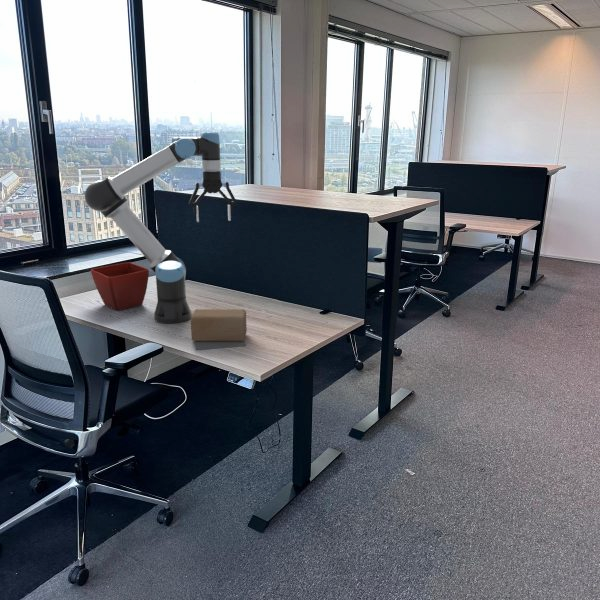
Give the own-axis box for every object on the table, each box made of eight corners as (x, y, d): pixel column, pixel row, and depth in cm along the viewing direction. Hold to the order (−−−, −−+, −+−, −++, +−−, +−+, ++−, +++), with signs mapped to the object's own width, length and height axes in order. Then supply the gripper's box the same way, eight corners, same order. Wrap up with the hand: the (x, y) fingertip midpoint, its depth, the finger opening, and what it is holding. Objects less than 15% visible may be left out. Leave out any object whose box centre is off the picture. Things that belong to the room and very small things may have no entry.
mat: (196, 350, 193) (196, 349, 193) (193, 338, 204) (193, 337, 204) (245, 345, 197) (245, 344, 197) (240, 334, 208) (240, 333, 208)
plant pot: (113, 314, 229) (109, 277, 224) (93, 304, 242) (89, 268, 237) (152, 305, 242) (149, 269, 237) (132, 296, 255) (129, 262, 250)
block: (244, 317, 196) (189, 317, 196) (244, 342, 199) (191, 342, 199) (246, 308, 206) (194, 308, 206) (246, 332, 209) (195, 332, 209)
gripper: (239, 169, 230) (241, 218, 237) (180, 170, 224) (183, 220, 231) (242, 170, 223) (243, 221, 230) (181, 171, 217) (184, 223, 224)
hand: (213, 220), depth 230 cm, fingers open, 13 cm apart
